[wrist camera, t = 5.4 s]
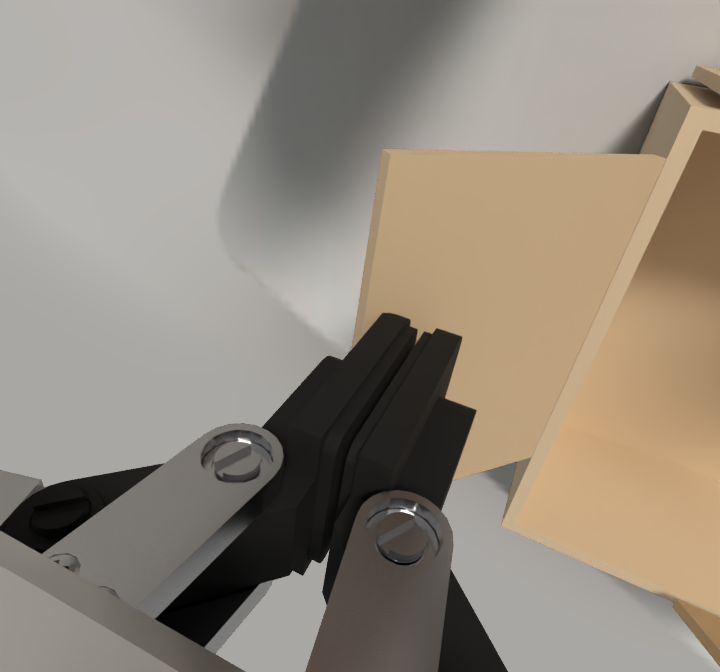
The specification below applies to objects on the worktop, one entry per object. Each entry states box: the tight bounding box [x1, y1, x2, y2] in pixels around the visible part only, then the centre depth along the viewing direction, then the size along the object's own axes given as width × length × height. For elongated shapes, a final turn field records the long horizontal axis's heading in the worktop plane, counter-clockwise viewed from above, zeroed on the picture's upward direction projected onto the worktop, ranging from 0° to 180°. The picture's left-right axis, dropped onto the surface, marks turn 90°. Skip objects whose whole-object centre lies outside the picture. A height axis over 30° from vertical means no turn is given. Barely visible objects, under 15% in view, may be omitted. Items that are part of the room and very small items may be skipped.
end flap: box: [352, 149, 666, 481], centre depth 12 cm, size 1×9×7 cm
